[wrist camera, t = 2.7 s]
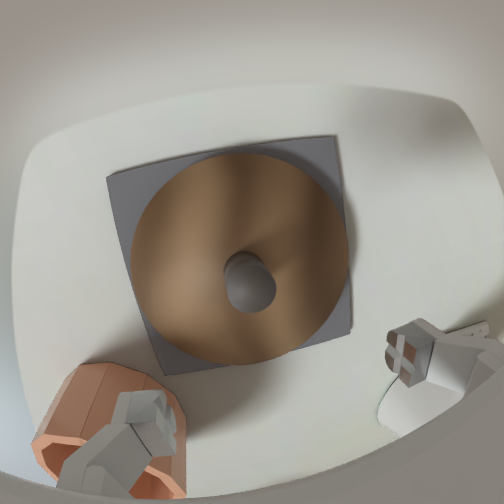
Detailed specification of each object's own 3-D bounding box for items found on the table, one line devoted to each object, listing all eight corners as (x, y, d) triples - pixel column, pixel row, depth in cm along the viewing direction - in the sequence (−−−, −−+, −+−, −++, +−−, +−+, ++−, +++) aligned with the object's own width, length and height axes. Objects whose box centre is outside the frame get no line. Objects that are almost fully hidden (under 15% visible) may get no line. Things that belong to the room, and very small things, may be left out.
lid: (328, 142, 21) (361, 133, 16) (345, 330, 25) (372, 359, 20) (112, 182, 19) (85, 182, 14) (168, 371, 23) (162, 410, 18)
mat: (331, 137, 21) (333, 136, 21) (348, 331, 26) (350, 333, 25) (108, 177, 19) (105, 177, 19) (165, 372, 24) (164, 375, 23)
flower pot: (158, 356, 23) (142, 439, 14) (199, 444, 27) (203, 513, 17) (45, 366, 22) (6, 426, 12) (100, 447, 26) (85, 505, 16)
